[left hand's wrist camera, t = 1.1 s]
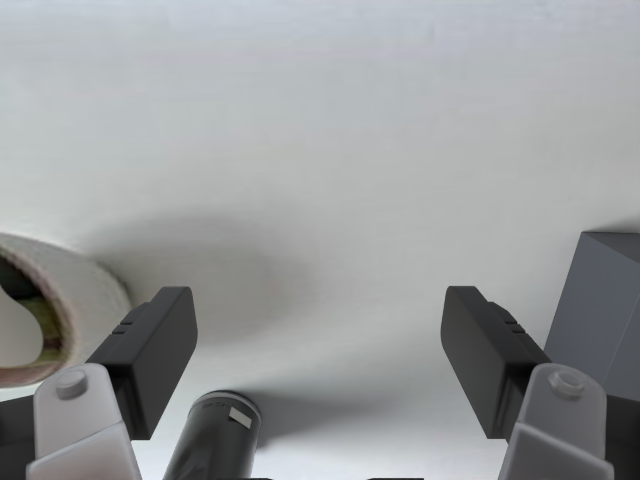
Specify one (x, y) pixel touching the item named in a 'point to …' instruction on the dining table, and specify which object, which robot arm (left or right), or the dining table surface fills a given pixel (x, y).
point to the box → (601, 313)
